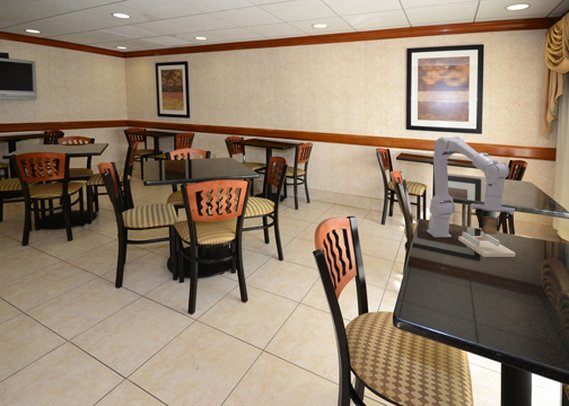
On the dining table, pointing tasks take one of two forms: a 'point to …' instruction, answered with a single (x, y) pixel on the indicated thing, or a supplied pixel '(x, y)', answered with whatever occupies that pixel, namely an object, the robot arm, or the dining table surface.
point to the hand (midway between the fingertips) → (489, 229)
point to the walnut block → (489, 225)
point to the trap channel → (486, 245)
